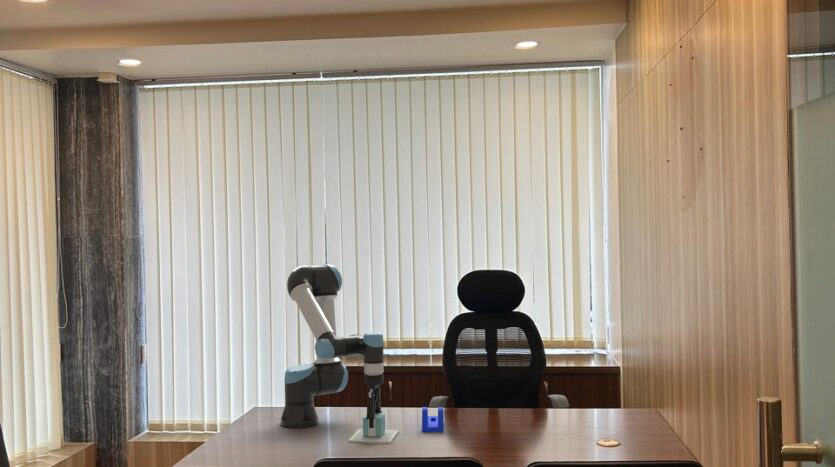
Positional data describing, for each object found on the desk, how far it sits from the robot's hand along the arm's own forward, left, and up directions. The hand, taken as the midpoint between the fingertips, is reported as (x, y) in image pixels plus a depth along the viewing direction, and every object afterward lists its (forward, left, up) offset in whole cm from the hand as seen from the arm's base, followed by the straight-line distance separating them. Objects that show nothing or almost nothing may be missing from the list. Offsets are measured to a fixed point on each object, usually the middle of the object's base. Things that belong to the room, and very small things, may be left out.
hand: (374, 433), depth 295 cm
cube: (0, 0, 0) cm, 0 cm away
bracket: (-19, +20, -2) cm, 28 cm away
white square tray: (0, 0, -2) cm, 2 cm away
